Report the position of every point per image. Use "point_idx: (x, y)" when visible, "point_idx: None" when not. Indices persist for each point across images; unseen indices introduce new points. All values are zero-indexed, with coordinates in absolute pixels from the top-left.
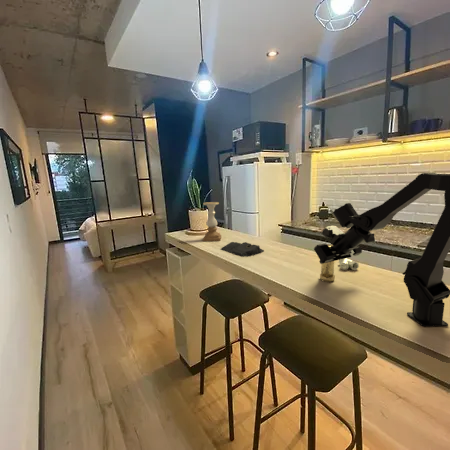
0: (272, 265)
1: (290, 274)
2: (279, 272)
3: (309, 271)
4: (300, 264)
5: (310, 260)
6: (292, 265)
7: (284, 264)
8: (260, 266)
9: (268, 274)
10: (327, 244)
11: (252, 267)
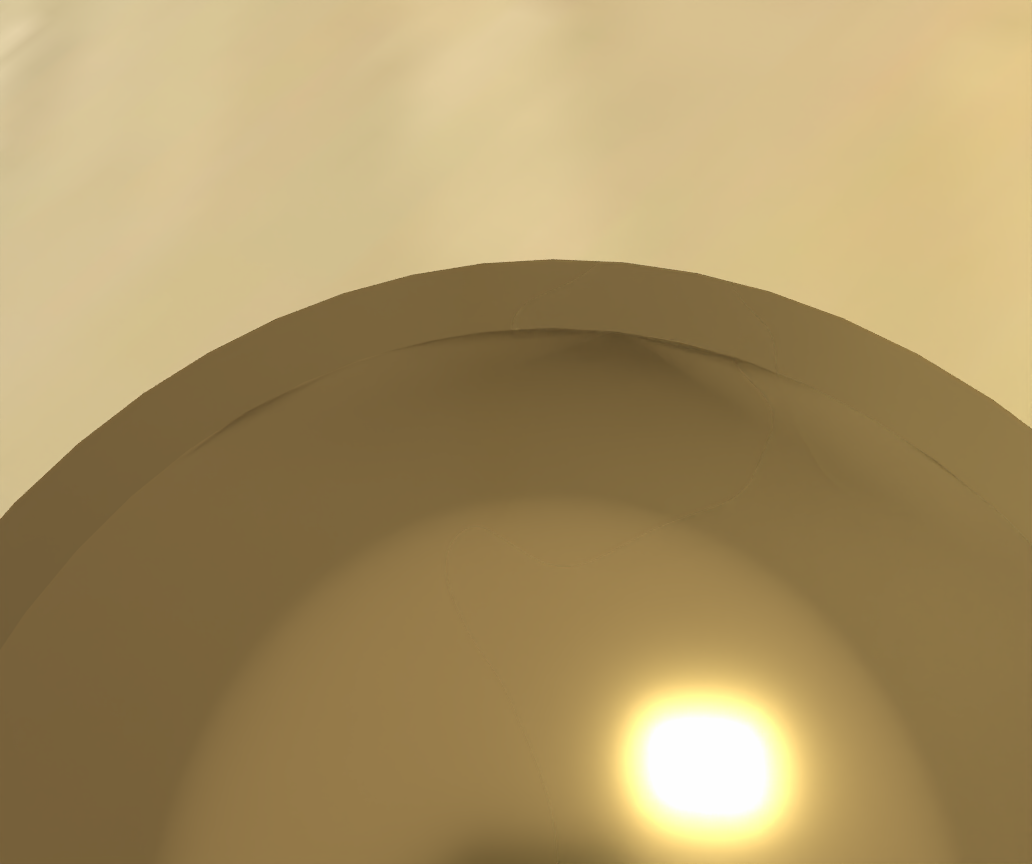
0: (302, 42)
1: None
2: (173, 243)
3: None
4: (653, 127)
5: (902, 63)
6: (524, 119)
7: (458, 62)
8: (161, 25)
9: (5, 243)
10: (860, 395)
11: (65, 20)
